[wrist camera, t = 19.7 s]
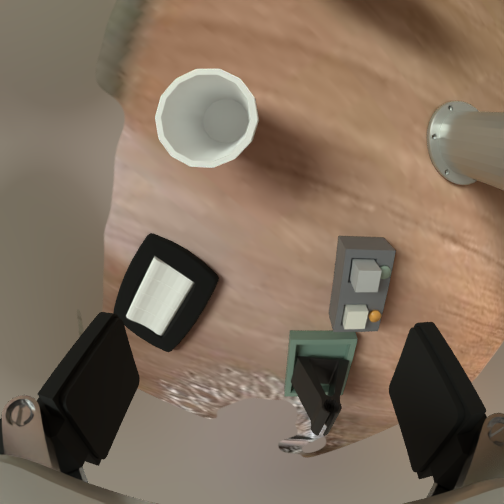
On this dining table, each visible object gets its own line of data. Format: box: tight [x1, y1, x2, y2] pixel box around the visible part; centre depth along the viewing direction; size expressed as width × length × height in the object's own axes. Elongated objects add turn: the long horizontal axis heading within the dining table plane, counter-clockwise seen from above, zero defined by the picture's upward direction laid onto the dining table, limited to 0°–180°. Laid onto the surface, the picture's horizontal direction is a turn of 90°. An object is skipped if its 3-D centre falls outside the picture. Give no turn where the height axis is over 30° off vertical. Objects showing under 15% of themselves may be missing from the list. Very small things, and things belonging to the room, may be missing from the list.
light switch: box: [114, 233, 218, 352], centre depth 47 cm, size 20×3×14 cm
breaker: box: [350, 259, 382, 292], centre depth 37 cm, size 3×3×4 cm
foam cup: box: [155, 69, 259, 168], centre depth 31 cm, size 10×9×13 cm
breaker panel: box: [329, 236, 396, 332], centre depth 42 cm, size 7×13×6 cm, turn 0°
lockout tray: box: [284, 331, 358, 396], centre depth 50 cm, size 11×14×2 cm
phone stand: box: [291, 356, 349, 436], centre depth 43 cm, size 9×6×12 cm, turn 83°
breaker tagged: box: [342, 304, 369, 329], centre depth 42 cm, size 3×3×4 cm
